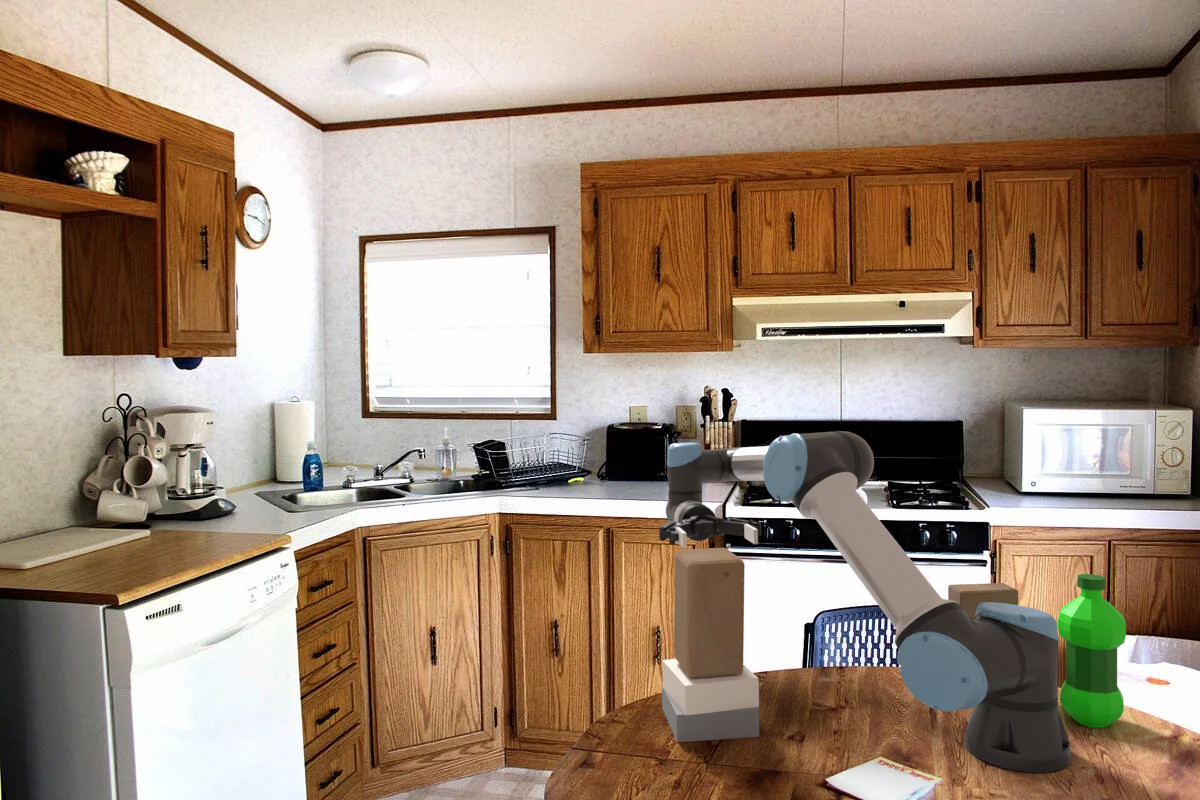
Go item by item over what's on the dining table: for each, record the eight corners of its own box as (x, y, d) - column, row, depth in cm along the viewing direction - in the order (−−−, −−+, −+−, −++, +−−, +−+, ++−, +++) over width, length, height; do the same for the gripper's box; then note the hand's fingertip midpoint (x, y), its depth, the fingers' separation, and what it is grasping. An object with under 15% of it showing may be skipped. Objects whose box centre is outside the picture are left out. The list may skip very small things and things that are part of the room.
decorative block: (960, 699, 159) (959, 591, 159) (947, 687, 165) (946, 584, 164) (1020, 697, 160) (1019, 590, 159) (1005, 686, 165) (1004, 582, 165)
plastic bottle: (1115, 739, 141) (1115, 587, 140) (1047, 720, 149) (1047, 576, 148) (1135, 721, 148) (1136, 576, 147) (1069, 704, 156) (1069, 567, 155)
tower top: (758, 707, 146) (758, 677, 146) (685, 715, 144) (685, 685, 143) (730, 680, 159) (730, 653, 159) (662, 687, 156) (662, 660, 156)
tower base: (759, 738, 145) (758, 709, 145) (677, 744, 144) (676, 715, 144) (737, 706, 159) (736, 680, 159) (662, 711, 158) (661, 684, 158)
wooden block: (745, 676, 147) (746, 560, 146) (688, 680, 145) (689, 563, 144) (726, 654, 157) (727, 546, 155) (672, 658, 155) (673, 548, 154)
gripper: (753, 535, 184) (785, 555, 163) (637, 541, 181) (654, 562, 160) (752, 500, 184) (784, 515, 163) (636, 505, 181) (653, 521, 160)
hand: (720, 538), depth 161 cm, fingers open, 13 cm apart
